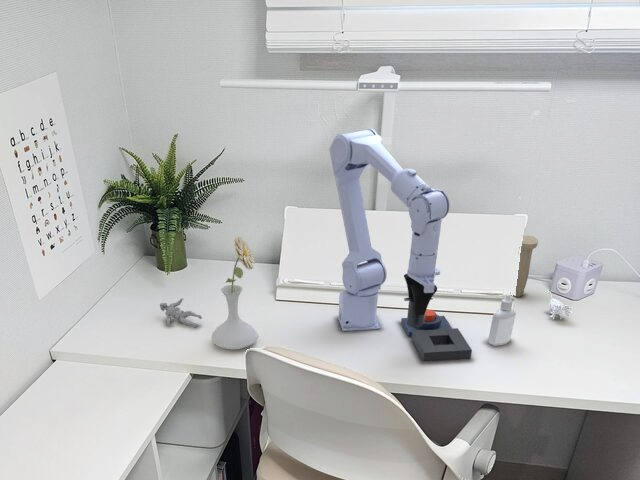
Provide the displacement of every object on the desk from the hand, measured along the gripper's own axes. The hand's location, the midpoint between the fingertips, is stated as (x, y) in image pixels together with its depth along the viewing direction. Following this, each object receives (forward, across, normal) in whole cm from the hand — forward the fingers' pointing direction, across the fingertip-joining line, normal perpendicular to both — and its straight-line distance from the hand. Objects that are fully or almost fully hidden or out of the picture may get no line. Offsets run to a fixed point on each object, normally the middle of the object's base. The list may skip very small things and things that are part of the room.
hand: (416, 310), depth 154 cm
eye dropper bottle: (+10, +2, -22) cm, 24 cm away
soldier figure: (+11, +23, +55) cm, 61 cm away
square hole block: (+10, 0, -7) cm, 12 cm away
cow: (+10, +15, -41) cm, 45 cm away
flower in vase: (+11, +10, +41) cm, 44 cm away
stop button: (+8, +11, -6) cm, 15 cm away
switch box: (+10, +11, -6) cm, 16 cm away
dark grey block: (+3, 0, 0) cm, 3 cm away
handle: (+11, +28, -36) cm, 47 cm away
